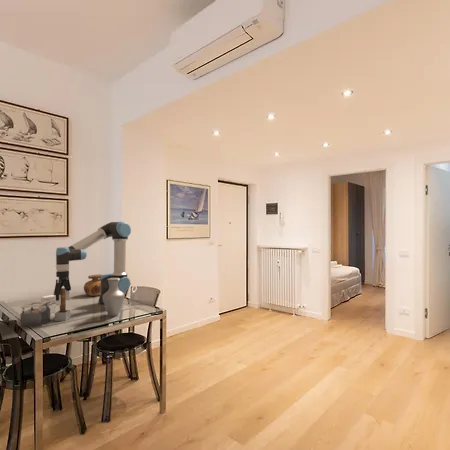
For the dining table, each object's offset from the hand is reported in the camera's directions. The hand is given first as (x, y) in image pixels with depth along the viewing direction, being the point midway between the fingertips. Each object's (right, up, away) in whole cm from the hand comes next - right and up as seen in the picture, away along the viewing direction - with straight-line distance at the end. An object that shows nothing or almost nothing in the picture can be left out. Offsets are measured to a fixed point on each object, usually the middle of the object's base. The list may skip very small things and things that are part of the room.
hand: (62, 302), depth 208 cm
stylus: (0, -11, 0) cm, 11 cm away
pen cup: (0, -11, 0) cm, 11 cm away
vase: (+30, -11, +9) cm, 34 cm away
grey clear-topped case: (-12, -11, -9) cm, 19 cm away
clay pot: (-9, -12, +74) cm, 75 cm away
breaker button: (-12, -8, -9) cm, 17 cm away
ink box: (-18, -11, +16) cm, 26 cm away
